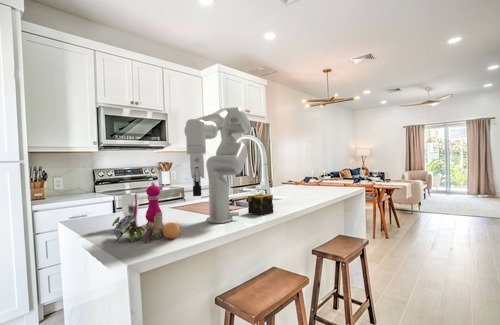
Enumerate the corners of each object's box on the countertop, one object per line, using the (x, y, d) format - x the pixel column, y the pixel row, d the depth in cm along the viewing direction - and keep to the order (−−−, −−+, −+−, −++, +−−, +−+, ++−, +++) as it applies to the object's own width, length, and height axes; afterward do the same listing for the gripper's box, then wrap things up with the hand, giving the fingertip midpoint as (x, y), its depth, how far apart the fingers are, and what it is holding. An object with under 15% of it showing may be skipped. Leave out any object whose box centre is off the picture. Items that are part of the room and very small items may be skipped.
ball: (157, 231, 99) (170, 230, 104) (164, 242, 95) (177, 241, 100) (165, 219, 98) (177, 219, 102) (172, 230, 94) (185, 229, 99)
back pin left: (161, 237, 100) (161, 215, 100) (161, 239, 98) (160, 216, 98) (155, 238, 100) (154, 215, 100) (154, 239, 97) (153, 217, 97)
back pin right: (163, 233, 106) (162, 212, 106) (162, 234, 104) (162, 213, 104) (156, 233, 106) (156, 212, 106) (156, 235, 103) (155, 214, 103)
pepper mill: (165, 223, 123) (164, 181, 123) (158, 227, 116) (157, 182, 116) (150, 223, 124) (149, 181, 124) (142, 227, 117) (141, 182, 117)
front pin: (170, 229, 104) (149, 221, 102) (169, 231, 102) (148, 222, 100) (167, 234, 104) (146, 226, 102) (166, 236, 101) (145, 228, 100)
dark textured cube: (273, 213, 143) (273, 194, 143) (261, 216, 136) (261, 196, 136) (259, 210, 150) (259, 193, 150) (247, 213, 143) (247, 195, 143)
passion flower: (118, 255, 98) (106, 227, 101) (146, 242, 105) (134, 217, 109) (124, 244, 90) (110, 214, 94) (153, 231, 98) (140, 204, 101)
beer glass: (135, 224, 122) (134, 192, 122) (141, 227, 118) (140, 193, 117) (119, 227, 118) (118, 194, 118) (125, 230, 113) (124, 195, 113)
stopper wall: (153, 232, 108) (153, 224, 108) (148, 242, 94) (148, 234, 94) (149, 232, 108) (149, 225, 108) (144, 243, 94) (143, 234, 94)
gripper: (206, 149, 99) (208, 197, 99) (204, 151, 113) (205, 193, 113) (186, 149, 97) (187, 199, 97) (186, 151, 112) (187, 194, 112)
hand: (197, 195), depth 105 cm, fingers closed
